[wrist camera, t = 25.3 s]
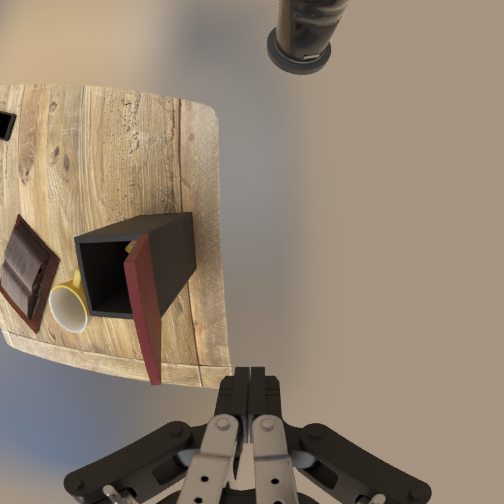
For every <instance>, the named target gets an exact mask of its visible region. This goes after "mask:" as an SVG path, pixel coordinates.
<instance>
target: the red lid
mask: <svg viewBox="0 0 504 504" xmlns="http://www.w3.org/2000/svg"><path fill="white" fill-rule="evenodd" d="M124 270H125V276H126V282H127V287H128V293H129V298H130V303H131V308H132V313H133V317H134V322H135V326H136V330H137V335H138V339H139V343H140V347H141V350H142V354H143V358H144V361H145V365H146V369H147V372H148V375H149V379H150V382H151V385H161V323H162V322H161V317H160V311H159V306H158V300H157V294H156V287H155V280H154V273H153V266H152V258H151V250H150V241H149V234H141V236H140V237H139V239H138V240H137V242H136V243H135V245H134V247H133V248H132V250H131V251H130V253H129V255H128V256H127V258H126V260H125V261H124Z"/></svg>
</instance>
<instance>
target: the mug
mask: <svg viewBox="0 0 504 504" xmlns="http://www.w3.org/2000/svg"><path fill="white" fill-rule="evenodd" d="M49 305H50V309H51V312H52V314H53V316H54V318H55V319H56V320H57V322H58V323H59V324H60V325H61V326H62V327H63V328H65V329H66V330H68V331H70V332H73V333H79V332H81V331H83V330H84V329H85V328H86V326H87V325H88V324H89V322H90V321H91V319H92V318H93V316H90V315H89V310H88V307H87V303H86V299H85V294H84V290H83V285H82V281H81V276H80V271H79V267H78V268H77V269H76V270H75V273H74V278H73V280H71V281H68V282H65V283H62V284H59V285H57V286H55V287H53V288H52V289H51V291H50V294H49Z"/></svg>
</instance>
